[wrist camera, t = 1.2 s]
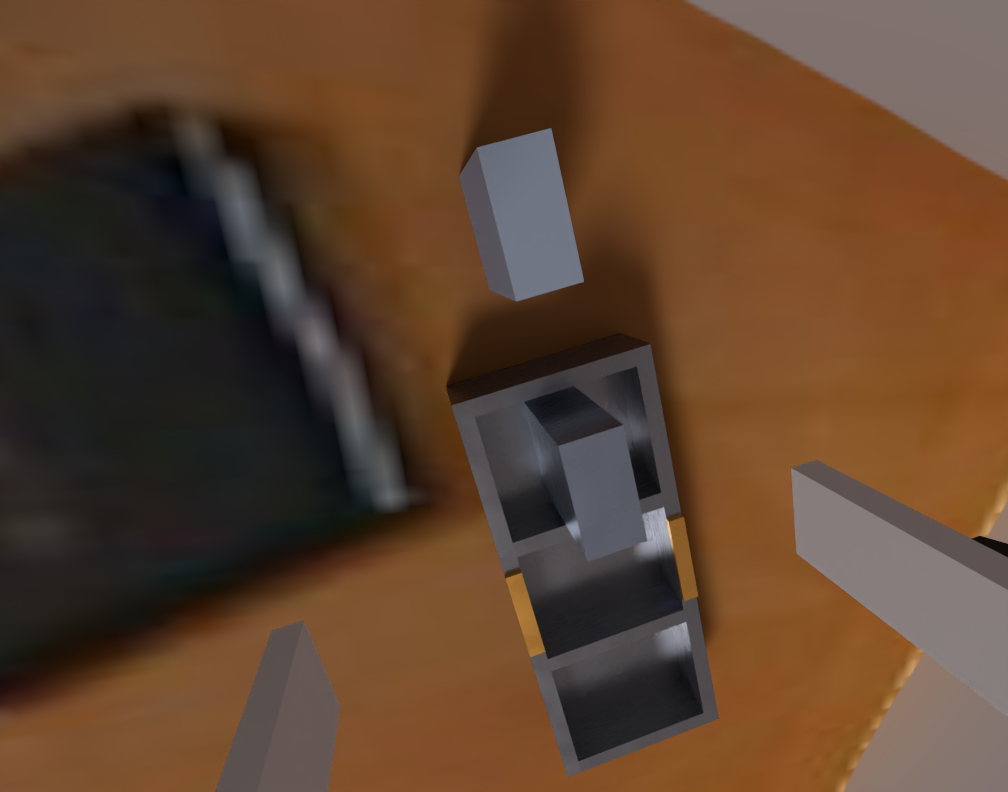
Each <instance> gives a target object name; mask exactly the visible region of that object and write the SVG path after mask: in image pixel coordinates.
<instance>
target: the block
mask: <svg viewBox="0 0 1008 792" xmlns="http://www.w3.org/2000/svg"><path fill="white" fill-rule="evenodd" d="M459 179H460V183H461V186H462V190H463V194H464V198H465V201H466V205H467V209H468V212H469V216H470V220H471V223H472V227H473V231H474V235H475V238H476V242H477V246H478V249H479V253H480V257H481V261H482V264H483V268H484V272H485V275H486V279H487V283H488V286H489V290H490V291H492V292H495V293H497V294H499V295H502V296H504V297H506V298H509V299H511V300H514V301H516V302H517V301H520V300H524V299H527V298H530V297H534V296H537V295H541V294H544V293H547V292H551V291H554V290H558V289H561V288H564V287H568V286H571V285H575V284H578V283H582V282H584V279H583V274H582V269H581V265H580V260H579V255H578V251H577V246H576V241H575V237H574V232H573V227H572V223H571V218H570V213H569V209H568V204H567V199H566V195H565V190H564V185H563V181H562V176H561V171H560V167H559V162H558V157H557V153H556V148H555V143H554V139H553V134H552V129H551V128H550V129H546V130H542V131H538V132H534V133H530V134H527V135H523V136H519V137H515V138H511V139H508V140H504V141H500V142H496V143H492V144H488V145H485V146H481V147H477V148H476V150H475V151H474V153H473V154H472V156H471V158H470V159H469V161H468V162H467V164H466V166H465V167H464V169H463V170H462V172H461V174H460V175H459Z"/></svg>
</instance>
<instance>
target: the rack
mask: <svg viewBox="0 0 1008 792" xmlns="http://www.w3.org/2000/svg"><path fill="white" fill-rule="evenodd" d="M446 388H447V391H448V395H449V398H450V402H451V405H452V408H453V412H454V415H455V418H456V421H457V424H458V428H459V431H460V434H461V437H462V440H463V444H464V447H465V450H466V453H467V456H468V460H469V463H470V466H471V469H472V472H473V476H474V479H475V482H476V485H477V488H478V492H479V495H480V498H481V501H482V504H483V507H484V511H485V514H486V517H487V520H488V523H489V527H490V530H491V533H492V536H493V539H494V543H495V546H496V549H497V552H498V555H499V559H500V562H501V565H502V568H503V571H504V575H505V578H506V581H507V584H508V587H509V591H510V594H511V597H512V600H513V603H514V607H515V610H516V613H517V616H518V619H519V623H520V626H521V629H522V632H523V635H524V639H525V642H526V645H527V648H528V651H529V655H530V658H531V661H532V664H533V667H534V670H535V674H536V677H537V680H538V683H539V686H540V690H541V693H542V696H543V699H544V702H545V706H546V709H547V712H548V715H549V718H550V722H551V725H552V728H553V731H554V734H555V738H556V741H557V744H558V747H559V750H560V754H561V757H562V760H563V763H564V766H565V769H566V773H567V776H568V777H570V776H572V775H575V774H577V773H580V772H582V771H585V770H588V769H590V768H593V767H595V766H598V765H600V764H603V763H605V762H608V761H611V760H613V759H616V758H618V757H621V756H623V755H626V754H629V753H631V752H634V751H636V750H639V749H641V748H644V747H647V746H649V745H652V744H654V743H657V742H659V741H662V740H665V739H667V738H670V737H672V736H675V735H677V734H680V733H683V732H685V731H688V730H690V729H693V728H695V727H698V726H701V725H703V724H706V723H708V722H711V721H713V720H716V719H719V718H718V712H717V707H716V701H715V696H714V690H713V685H712V679H711V674H710V668H709V663H708V657H707V652H706V646H705V641H704V635H703V630H702V624H701V619H700V613H699V608H698V602H697V597H698V592H697V586H696V581H695V575H694V570H693V564H692V559H691V553H690V547H689V542H688V536H687V531H686V525H685V520H684V516H683V515H682V514H681V509H680V503H679V498H678V492H677V487H676V481H675V476H674V470H673V465H672V460H671V454H670V449H669V443H668V438H667V432H666V427H665V421H664V416H663V410H662V405H661V399H660V394H659V388H658V383H657V377H656V372H655V366H654V361H653V355H652V350H651V344H649V343H646V342H644V341H641V340H638V339H635V338H633V337H630V336H627V335H624V334H622V333H620V334H617V335H613V336H610V337H607V338H603V339H600V340H597V341H594V342H590V343H587V344H584V345H581V346H577V347H574V348H571V349H567V350H564V351H561V352H558V353H554V354H551V355H548V356H545V357H541V358H538V359H535V360H531V361H528V362H525V363H522V364H518V365H515V366H512V367H509V368H505V369H502V370H499V371H495V372H492V373H489V374H486V375H482V376H479V377H476V378H473V379H469V380H466V381H463V382H459V383H456V384H453V385H450V386H446Z"/></svg>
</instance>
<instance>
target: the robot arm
mask: <svg viewBox="0 0 1008 792" xmlns="http://www.w3.org/2000/svg"><path fill="white" fill-rule="evenodd" d="M791 471H792V487H793V504H794V520H795V536H796V552H797V554H798V555H799V556H800V557H802V558H803V559H804V560H806V561H807V562H808V563H810V564H811V565H812V566H813V567H815V568H816V569H817V570H819V571H820V572H821V573H822V574H824V575H825V576H826V577H828V578H829V579H830V580H831V581H833V582H834V583H835V584H837V585H838V586H839V587H841V588H842V589H843V590H844V591H846V592H847V593H848V594H850V595H851V596H852V597H853V598H855V599H856V600H857V601H859V602H860V603H861V604H862V605H864V606H865V607H866V608H868V609H869V610H870V611H871V612H873V613H874V614H875V615H877V616H878V617H879V618H881V619H882V620H883V621H884V622H886V623H887V624H888V625H890V626H891V627H892V628H893V629H895V630H896V631H897V632H899V633H900V634H901V635H902V636H904V637H905V638H906V639H908V640H909V641H910V642H912V643H913V644H914V645H915V646H917V647H918V648H919V649H921V650H922V651H923V652H924V653H926V654H927V655H928V656H930V657H931V658H932V659H934V660H935V661H936V662H937V663H939V664H940V665H941V666H943V667H944V668H945V669H946V670H948V671H949V672H950V673H952V674H953V675H954V676H955V677H957V678H958V679H959V680H961V681H962V682H963V683H965V684H966V685H967V686H968V687H970V688H971V689H972V690H973V691H975V692H976V693H978V694H979V695H980V696H981V697H983V698H984V699H985V700H987V701H988V702H989V703H990V704H992V705H993V706H994V707H995V708H997V709H998V710H999V711H1001V712H1002V713H1003V714H1004V715H1006V716H1007V717H1008V544H1006V543H1003V542H999V541H996V540H992V539H989V538H986V537H982V536H978V537H975V538H972V539H971V538H969V537H967V536H965V535H963V534H961V533H959V532H957V531H955V530H953V529H951V528H949V527H947V526H945V525H943V524H941V523H939V522H937V521H935V520H933V519H931V518H929V517H927V516H925V515H923V514H922V513H920V512H918V511H916V510H914V509H912V508H910V507H908V506H906V505H904V504H902V503H900V502H898V501H896V500H894V499H892V498H890V497H888V496H886V495H884V494H882V493H880V492H878V491H876V490H874V489H872V488H871V487H869V486H867V485H865V484H863V483H861V482H859V481H857V480H855V479H853V478H851V477H849V476H847V475H845V474H843V473H841V472H839V471H837V470H835V469H833V468H831V467H829V466H827V465H825V464H823V463H821V462H820V461H818V460H815V461H812V462H809V463H806V464H803V465H799V466H796V467H793V468H791ZM339 710H340V704H339V702H338V700H337V697H336V695H335V692H334V690H333V688H332V685H331V683H330V681H329V678H328V676H327V674H326V671H325V669H324V667H323V664H322V662H321V660H320V657H319V655H318V653H317V650H316V648H315V646H314V643H313V641H312V639H311V636H310V634H309V632H308V629H307V627H306V625H305V622H304V621H301V622H297V623H294V624H291V625H288V626H285V627H281V628H278V629H275V630H272V632H271V634H270V637H269V640H268V643H267V646H266V649H265V652H264V654H263V657H262V660H261V663H260V666H259V669H258V672H257V674H256V677H255V680H254V683H253V686H252V689H251V692H250V694H249V697H248V700H247V703H246V706H245V709H244V712H243V714H242V717H241V720H240V723H239V726H238V729H237V732H236V734H235V737H234V740H233V743H232V746H231V749H230V752H229V754H228V757H227V760H226V763H225V766H224V769H223V772H222V774H221V777H220V780H219V783H218V786H217V789H216V792H328V787H329V780H330V773H331V766H332V759H333V752H334V745H335V738H336V731H337V724H338V717H339Z"/></svg>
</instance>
